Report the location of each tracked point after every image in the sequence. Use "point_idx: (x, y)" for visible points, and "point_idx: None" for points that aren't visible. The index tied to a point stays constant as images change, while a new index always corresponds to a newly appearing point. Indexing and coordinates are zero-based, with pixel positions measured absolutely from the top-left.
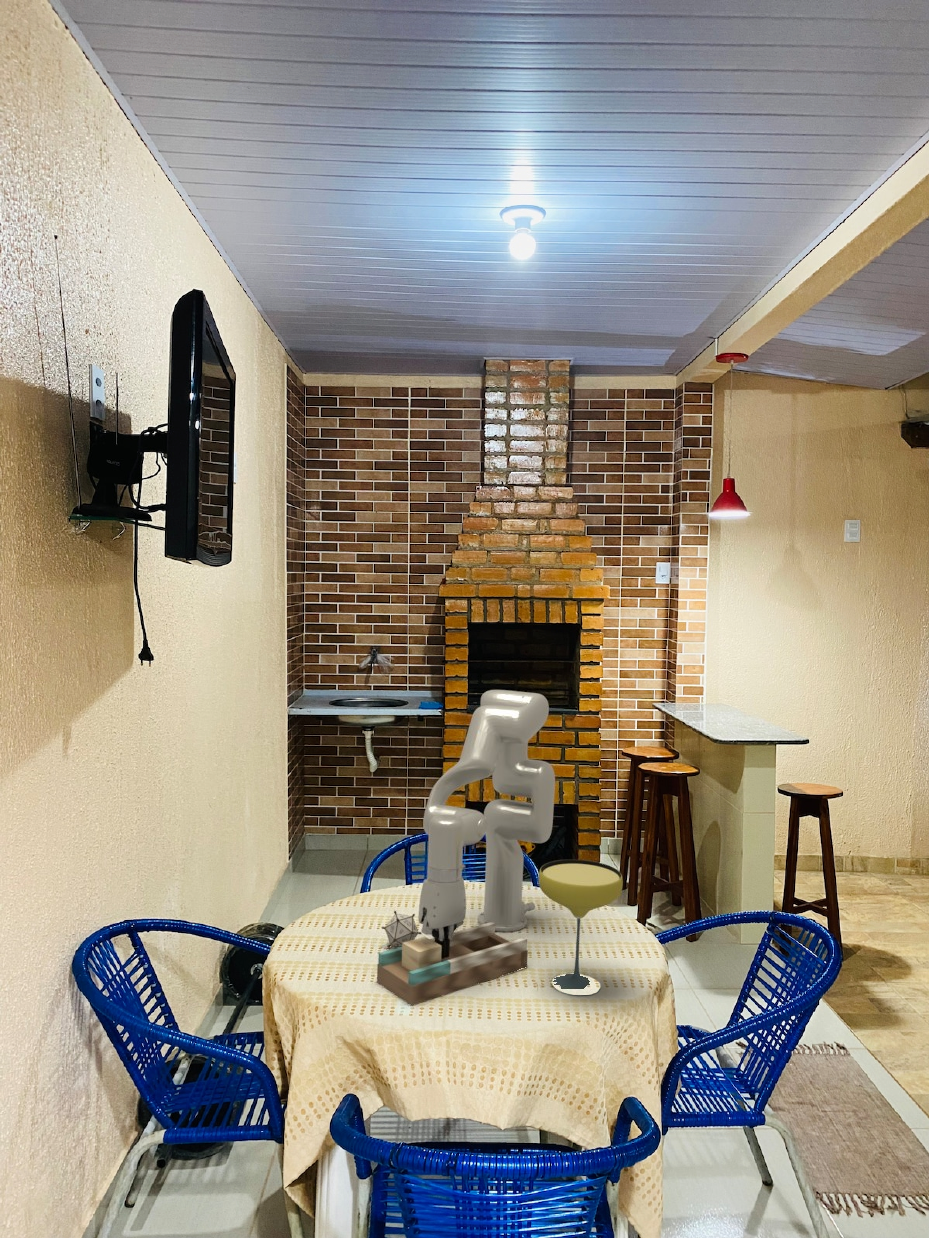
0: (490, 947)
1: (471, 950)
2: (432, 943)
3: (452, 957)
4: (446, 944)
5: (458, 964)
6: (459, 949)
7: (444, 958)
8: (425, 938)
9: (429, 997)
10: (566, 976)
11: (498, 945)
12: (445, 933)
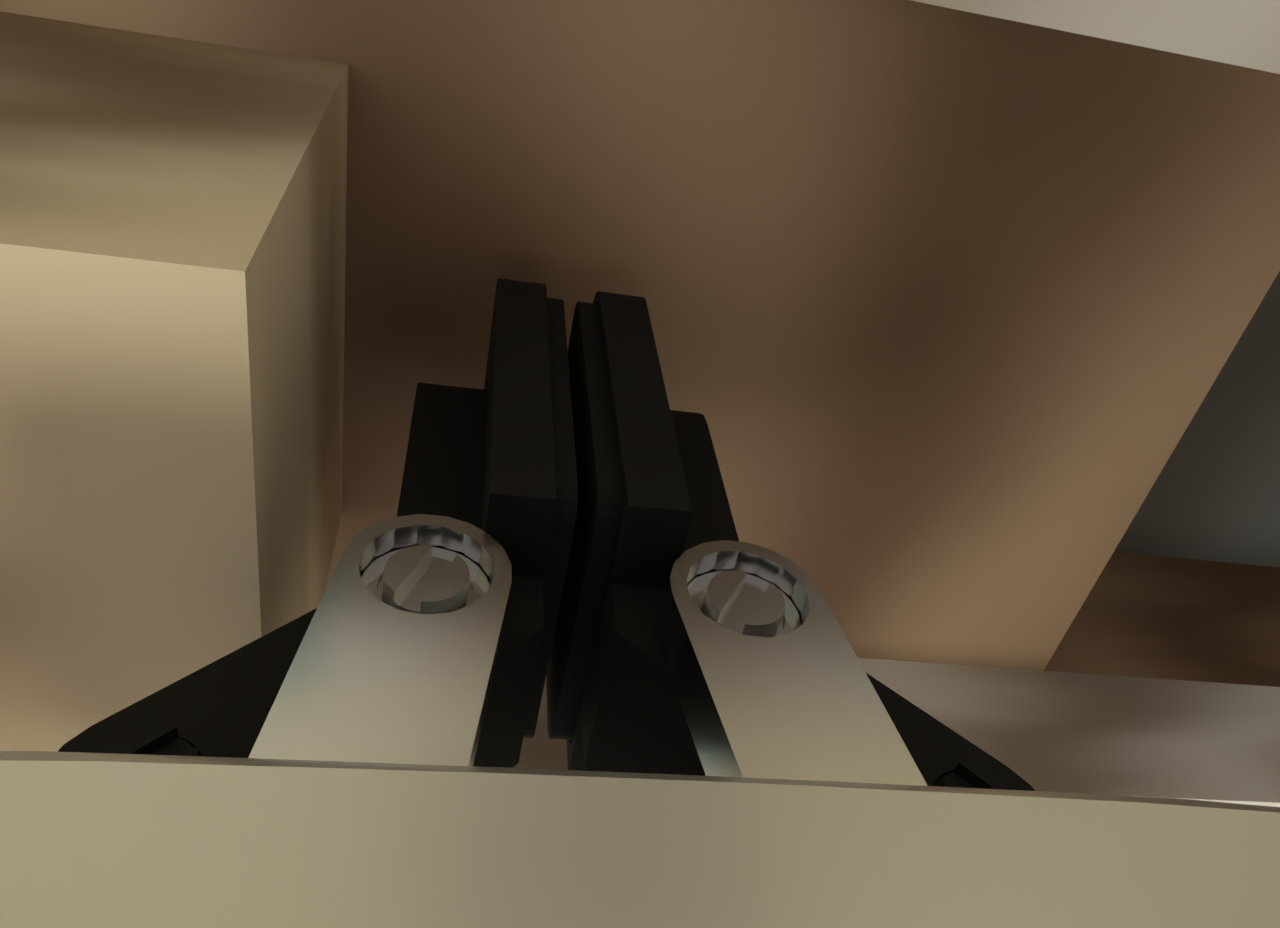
0: (1143, 796)
1: (1206, 380)
2: (154, 683)
3: (787, 370)
4: (546, 675)
5: None
6: (1149, 230)
7: (667, 309)
8: (179, 382)
9: None
10: None
11: (1266, 805)
12: (643, 754)
